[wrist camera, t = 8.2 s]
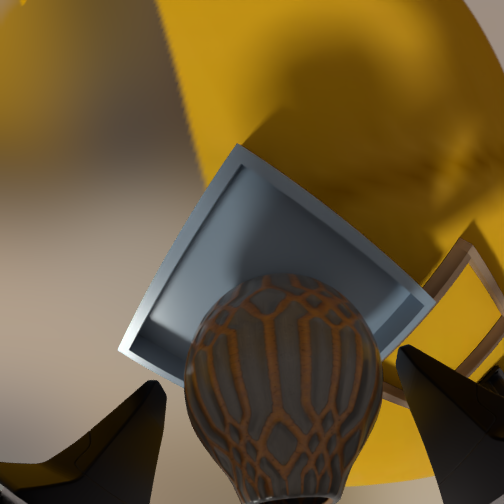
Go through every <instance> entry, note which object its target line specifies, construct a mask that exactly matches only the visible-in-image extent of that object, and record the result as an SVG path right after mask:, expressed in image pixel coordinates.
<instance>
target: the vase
mask: <svg viewBox="0 0 504 504" xmlns="http://www.w3.org/2000/svg"><path fill="white" fill-rule="evenodd" d="M184 394H185V402H186V407H187V412H188V416H189V419H190V421H191V424H192V427H193V429H194V431H195V433H196V435H197V437H198V438H199V440H200V441H201V443H202V444H203V446H204V447H205V449H206V450H207V451H208V452H209V454H210V455H211V457H212V458H213V459H214V461H215V462H216V463H217V464H218V466H219V467H220V468H221V469H222V470H223V472H224V473H225V474H226V475H227V477H228V478H229V480H230V481H231V483H232V485H233V487H234V489H235V491H236V493H237V495H238V497H239V500H240V502H241V504H336V503H337V502H338V501H339V500H340V499H341V496H342V494H343V490H344V487H345V484H346V481H347V478H348V475H349V473H350V470H351V468H352V465H353V464H354V462H355V460H356V458H357V457H358V455H359V453H360V452H361V450H362V448H363V446H364V445H365V443H366V441H367V439H368V437H369V435H370V433H371V431H372V429H373V427H374V425H375V422H376V420H377V417H378V414H379V411H380V408H381V403H382V396H383V369H382V362H381V356H380V352H379V349H378V345H377V342H376V340H375V338H374V336H373V334H372V331H371V329H370V328H369V326H368V324H367V323H366V321H365V319H364V318H363V316H362V315H361V314H360V312H359V311H358V310H357V308H356V307H355V306H354V305H353V304H352V303H351V302H350V301H349V300H348V299H347V298H346V297H345V296H344V295H342V294H341V293H340V292H339V291H337V290H336V289H334V288H333V287H331V286H329V285H327V284H325V283H323V282H321V281H319V280H317V279H314V278H311V277H308V276H303V275H298V274H290V273H276V274H268V275H263V276H259V277H256V278H253V279H251V280H248V281H246V282H243V283H241V284H239V285H238V286H236V287H234V288H233V289H231V290H230V291H228V292H227V293H226V294H225V295H223V296H222V297H221V298H220V299H219V300H218V301H217V302H216V303H215V304H214V305H213V306H212V307H211V308H210V310H209V311H208V312H207V313H206V315H205V316H204V317H203V319H202V321H201V322H200V324H199V326H198V328H197V330H196V332H195V334H194V337H193V339H192V342H191V344H190V347H189V350H188V354H187V358H186V362H185V371H184Z"/></svg>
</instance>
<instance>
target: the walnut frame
mask: <svg viewBox="0 0 504 504" xmlns="http://www.w3.org/2000/svg"><path fill="white" fill-rule="evenodd" d="M468 263H469V264H470V266H471V267H472V268H473V270H474V271H475V273H476V274H477V276H478V277H479V279H480V280H481V282H482V283H483V285H484V286H485V288H486V289H487V291H488V293H489V294H490V296H491V297H492V299H493V301H494V302H495V304H496V306H497V307H498V309H499V311H500V313H501V314H502V316H501V317H500V319H499V320H498V322H497V323H496V324H495V325H494V327H493V328H492V329H491V331H490V332H489V333H488V334H487V336H486V337H485V338H484V339H483V340H482V342H481V343H480V344H479V345H478V346H477V347H476V349H475V350H474V351H473V352H472V353H471V354H470V355H469V356H468V358H467V359H466V360H465V361H464V362H463V363H462V364H461V365H460V366H459V367H458V368H457V369H456V370H455V371H457V372H458V373H460V374H462V375H464V376H465V377H467V378H468V377H469V376H470V375H471V374H472V373H473V372H474V371H475V370H476V369H477V368H478V367H479V366H480V364H481V363H482V362H483V361H484V360H485V359H486V358H487V357H488V355H489V354H490V353H491V352H492V351H493V350H494V348H495V347H496V346H497V345H498V343H499V342H500V341H501V340H502V338H503V337H504V296H503V294H502V292H501V290H500V288H499V287H498V285H497V283H496V281H495V279H494V278H493V276H492V274H491V273H490V271H489V269H488V268H487V266H486V264H485V263H484V261H483V260H482V258H481V256H480V255H479V253H478V252H477V250H476V249H475V247H474V246H473V245H472V244H471V243H469V242H467V241H465V240H464V239H462V238H459V239H458V241H457V242H456V244H455V245H454V247H453V248H452V250H451V251H450V252H449V254H448V255H447V257H446V258H445V259H444V261H443V262H442V264H441V265H440V266H439V268H438V269H437V270H436V272H435V273H434V274H433V275H432V277H431V278H430V279H429V281H428V282H427V283H426V284H425V286H424V287H423V289H424V290H425V291H426V292H427V293H428V294H429V295H430V296H431V297H432V298H433V299H434V300H435V301H436V303H435V305H434V306H433V307H432V308H431V309H430V310H429V312H428V313H427V314H426V315H425V316H424V317H423V319H422V320H421V321H420V322H419V323H418V324H417V325H416V326H415V327H414V328H413V330H412V331H411V332H410V333H409V334H408V335H407V336H406V337H405V338H404V339H403V340H402V341H401V342H400V343H399V344H398V345H397V346H396V347H395V348H394V349H393V350H392V351H391V352H390V353H389V354H388V355H387V356H386V357H385V358H384V359H383V360H382V361H381V362H383V361H384V360H385V359H386V358H387V357H388V356H389V355H390V354H391V353H392V352H393V351H394V350H395V349H396V348H397V347H398V346H399V345H400V344H401V343H402V342H403V341H404V340H405V339H406V338H407V337H408V336H409V335H410V334H411V333H412V332H413V331H414V329H415V328H416V327H417V326H418V325H419V324H420V323H421V322H422V321H423V320H424V318H425V317H426V316H427V315H428V314H429V313H430V311H431V310H432V309H433V308H434V307H435V306H436V304H437V303H438V302H439V301H440V300H441V298H442V297H443V296H444V295H445V293H446V292H447V291H448V289H449V288H450V287H451V286H452V284H453V283H454V282H455V280H456V279H457V278H458V276H459V275H460V274H461V272H462V271H463V269H464V268H465V267H466V265H467V264H468ZM382 399H385V400H387V401H390V402H393V403H395V404H398V405H400V406H403V407H406V408H408V409H410V408H409V406H408V404H407V401H406V398H405V395H404V391H403V390H401V389H399V388H397V387H394V386H392V385H390V384H388V383H386V382H384V381H383V396H382Z"/></svg>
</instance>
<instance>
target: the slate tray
mask: <svg viewBox="0 0 504 504" xmlns="http://www.w3.org/2000/svg"><path fill="white" fill-rule="evenodd" d="M276 273H290V274H298V275H303V276H308V277H311V278H314V279H317V280H319V281H321V282H323V283H325V284H327V285H329V286H331V287H333V288H334V289H336V290H337V291H339V292H340V293H341V294H342V295H344V296H345V297H346V298H347V299H348V300H349V301H350V302H351V303H352V304H353V305H354V306H355V307H356V308H357V310H358V311H359V312H360V314H361V315H362V316H363V318H364V319H365V321H366V323H367V324H368V326H369V328H370V329H371V331H372V334H373V336H374V338H375V340H376V342H377V345H378V349H379V352H380V356H381V361H382V360H383V359H384V358H385V357H386V356H387V355H388V354H389V353H390V352H391V351H392V350H393V349H394V348H395V347H396V346H397V345H398V344H399V343H400V342H401V341H402V340H403V339H404V338H405V337H406V336H407V335H408V334H409V333H410V332H411V331H412V330H413V328H414V327H415V326H416V325H417V324H418V323H419V322H420V321H421V320H422V319H423V317H424V316H425V315H426V314H427V313H428V312H429V310H430V309H431V308H432V307H433V306H434V305H435V303H436V301H435V300H434V299H433V298H432V297H431V296H430V295H429V294H428V293H427V292H426V291H425V290H424V289H423V288H422V287H421V286H420V285H419V284H418V283H417V282H416V281H414V280H413V279H412V278H411V277H410V276H409V275H408V274H407V273H406V272H405V271H404V270H403V269H402V268H400V267H399V266H398V265H397V264H396V263H395V262H394V261H393V260H392V259H390V258H389V257H388V256H387V255H386V254H385V253H384V252H382V251H381V250H380V249H379V248H378V247H377V246H375V245H374V244H373V243H372V242H371V241H370V240H368V239H367V238H366V237H365V236H364V235H362V234H361V233H360V232H359V231H358V230H356V229H355V228H354V227H353V226H352V225H350V224H349V223H348V222H347V221H345V220H344V219H343V218H342V217H340V216H339V215H338V214H337V213H335V212H334V211H333V210H331V209H330V208H329V207H328V206H326V205H325V204H324V203H322V202H321V201H320V200H318V199H317V198H316V197H314V196H313V195H312V194H310V193H309V192H308V191H306V190H305V189H304V188H302V187H301V186H300V185H298V184H297V183H296V182H294V181H293V180H291V179H290V178H289V177H287V176H286V175H284V174H283V173H282V172H280V171H279V170H277V169H276V168H274V167H273V166H271V165H270V164H269V163H267V162H266V161H264V160H263V159H261V158H260V157H258V156H257V155H255V154H254V153H252V152H251V151H249V150H248V149H246V148H245V147H243V146H242V145H240V144H236V146H235V147H234V149H233V150H232V151H231V153H230V154H229V156H228V157H227V159H226V160H225V162H224V163H223V165H222V166H221V168H220V169H219V171H218V172H217V174H216V175H215V177H214V178H213V180H212V181H211V183H210V184H209V186H208V188H207V189H206V191H205V192H204V194H203V195H202V197H201V199H200V200H199V202H198V203H197V205H196V207H195V208H194V210H193V211H192V213H191V215H190V216H189V218H188V220H187V221H186V223H185V225H184V226H183V228H182V230H181V231H180V233H179V235H178V236H177V238H176V240H175V241H174V243H173V245H172V247H171V249H170V250H169V252H168V254H167V255H166V257H165V259H164V261H163V262H162V264H161V266H160V268H159V270H158V271H157V273H156V275H155V277H154V279H153V281H152V282H151V285H150V286H149V288H148V290H147V292H146V294H145V296H144V298H143V299H142V301H141V303H140V305H139V307H138V309H137V311H136V313H135V315H134V317H133V319H132V321H131V323H130V325H129V328H128V329H127V331H126V333H125V336H124V337H123V340H122V342H121V344H120V346H119V348H118V351H120V352H121V353H123V354H124V355H126V356H128V357H129V358H131V359H132V360H134V361H136V362H137V363H139V364H141V365H142V366H144V367H146V368H148V369H150V370H151V371H153V372H155V373H156V374H158V375H160V376H162V377H164V378H166V379H168V380H169V381H171V382H173V383H175V384H177V385H179V386H181V387H183V388H184V371H185V362H186V358H187V354H188V350H189V347H190V344H191V342H192V339H193V337H194V334H195V332H196V330H197V328H198V326H199V324H200V322H201V321H202V319H203V317H204V316H205V315H206V313H207V312H208V311H209V310H210V308H211V307H212V306H213V305H214V304H215V303H216V302H217V301H218V300H219V299H220V298H221V297H222V296H223V295H225V294H226V293H227V292H228V291H230V290H231V289H233V288H234V287H236V286H238V285H239V284H241V283H243V282H246V281H248V280H251V279H253V278H256V277H259V276H263V275H268V274H276Z"/></svg>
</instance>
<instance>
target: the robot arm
mask: <svg viewBox="0 0 504 504" xmlns="http://www.w3.org/2000/svg"><path fill="white" fill-rule="evenodd" d="M396 369H397V372H398V375H399V378H400V381H401V385H402V388H403V391H404V395H405V398H406V401H407V404H408V406H409V408H410V411H411V413H412V416H413V418H414V420H415V423H416V425H417V428H418V430H419V433H420V435H421V438H422V441H423V443H424V446H425V449H426V451H427V454H428V457H429V460H430V462H431V465H432V468H433V471H434V474H435V477H436V480H437V483H438V485H439V486H438V487H439V490H440V493H441V496H442V500H443V503H444V504H504V373H503V371H502V370H501V369H500V367H499V366H496V367H495V368H494V369H493V370H492V371H491V372H490V373H489V374H488V375H487V376H486V377H485V378H484V379H483V380H482V382H481V383H480V384H476V382H474V381H472V380H470V379H469V378H467V377H465V376H464V375H462V374H460V373H458V372H457V371H455V370H453V369H451V368H450V367H448V366H446V365H444V364H443V363H441V362H439V361H437V360H436V359H434V358H432V357H431V356H429V355H427V354H425V353H424V352H422V351H420V350H418V349H417V348H415V347H413V346H411V345H409V344H408V345H404V346H401V347H399V349H398V354H397V359H396ZM166 401H167V396H166V393H165V392H164V390H163V388H162V386H161V385H160V383H159V382H158V381H157V380H149V381H147V382H145V383H144V384H143V385H142V386H141V387H140V388H139V389H137V390H136V391H135V392H134V393H133V394H132V395H131V396H129V397H128V398H127V399H126V400H125V401H124V402H122V403H121V404H120V405H119V406H118V407H117V408H116V409H114V410H113V411H112V412H111V413H110V414H109V415H107V416H106V417H105V418H104V419H103V420H102V421H100V422H99V423H98V424H97V425H96V426H94V427H93V428H92V429H91V431H88V432H87V433H86V434H85V435H84V436H82V437H81V438H80V439H79V440H77V441H76V442H75V443H74V444H72V445H70V446H69V447H68V448H66V449H65V450H63V451H62V452H60V453H59V454H57V455H55V456H54V457H52V458H51V459H49V460H47V461H45V462H43V463H37V464H26V463H25V464H24V463H6V462H0V484H2V485H3V486H4V488H3V490H2V491H0V504H149V503H150V497H151V492H152V486H153V481H154V475H155V470H156V465H157V460H158V455H159V450H160V445H161V441H162V436H163V430H164V421H165V411H166Z"/></svg>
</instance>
